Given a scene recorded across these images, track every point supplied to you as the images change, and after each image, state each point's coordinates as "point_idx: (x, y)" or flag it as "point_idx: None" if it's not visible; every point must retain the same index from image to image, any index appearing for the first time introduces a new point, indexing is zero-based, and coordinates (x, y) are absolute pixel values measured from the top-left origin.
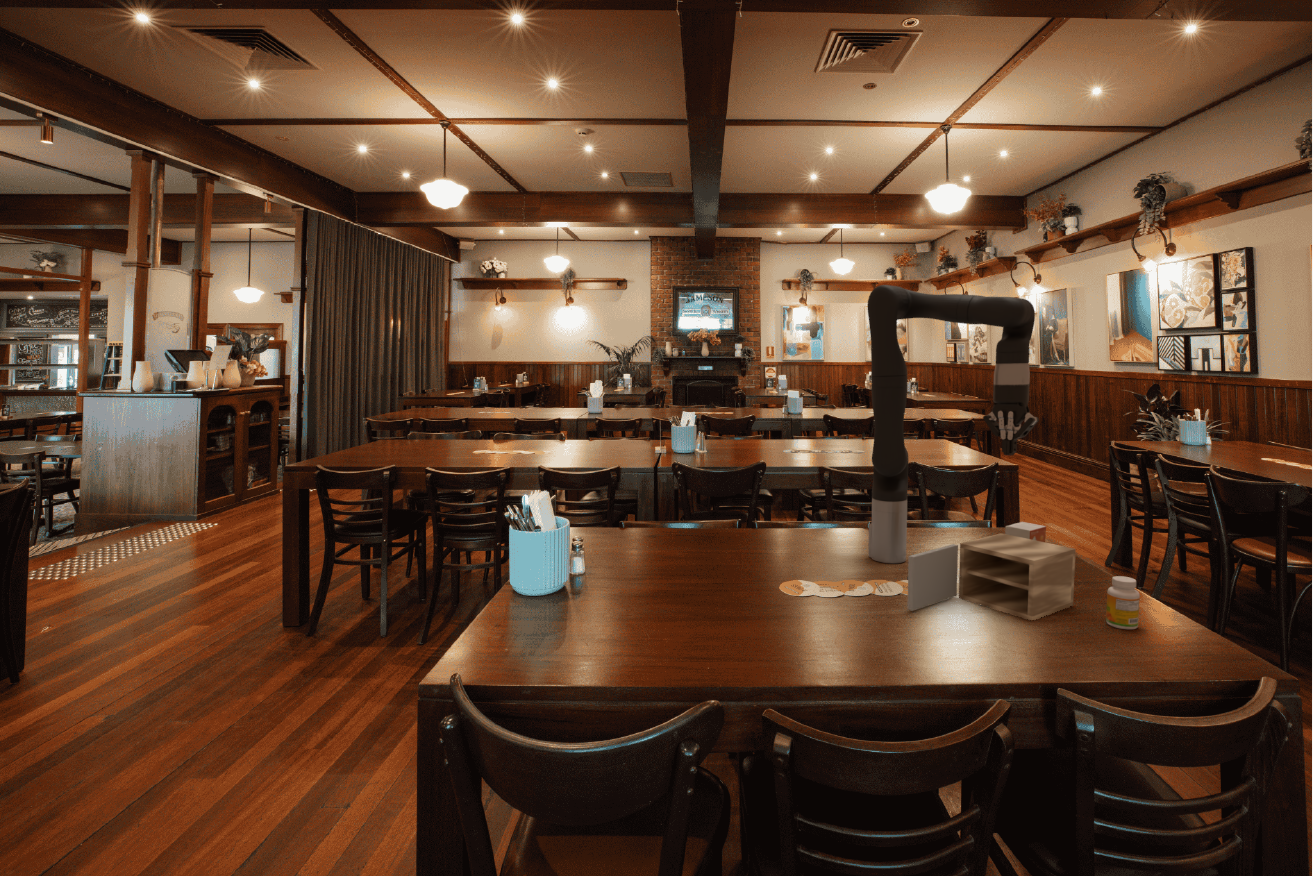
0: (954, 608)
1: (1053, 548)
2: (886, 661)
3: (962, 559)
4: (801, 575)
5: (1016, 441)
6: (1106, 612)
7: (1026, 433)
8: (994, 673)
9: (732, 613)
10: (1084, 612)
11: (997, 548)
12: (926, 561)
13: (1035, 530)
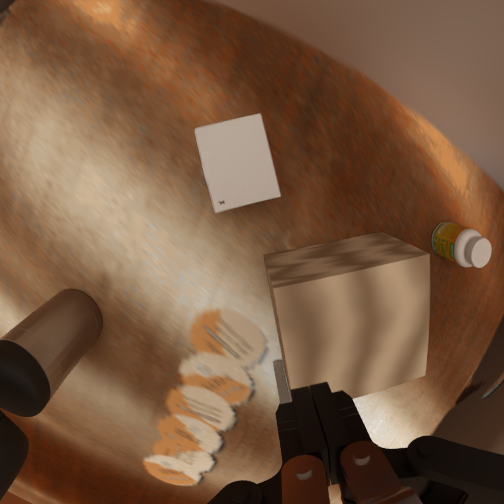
0: None
1: (408, 291)
2: None
3: None
4: (128, 450)
5: (369, 440)
6: (440, 253)
7: (457, 454)
8: (422, 431)
9: None
10: (402, 240)
11: (354, 381)
12: None
13: (275, 170)
